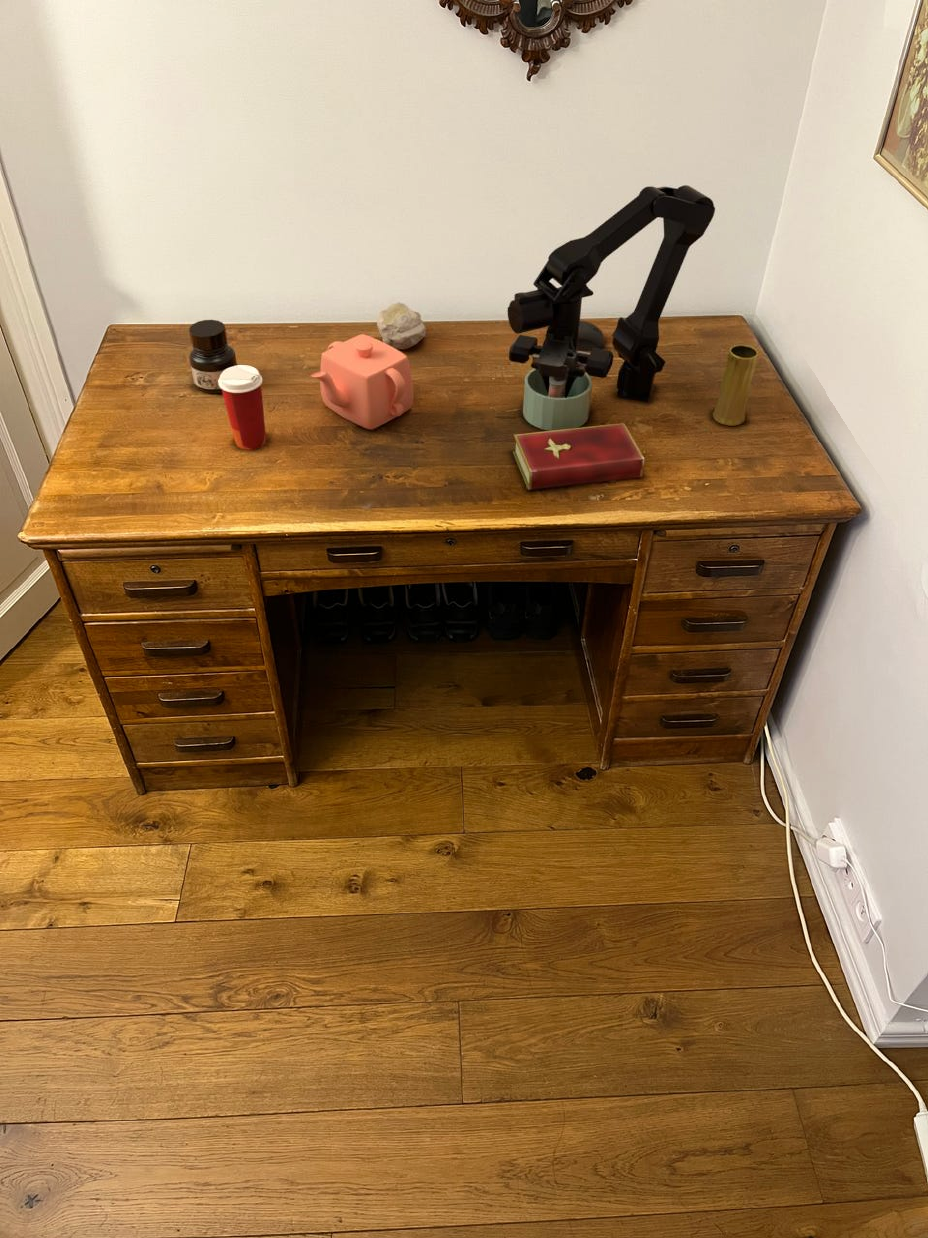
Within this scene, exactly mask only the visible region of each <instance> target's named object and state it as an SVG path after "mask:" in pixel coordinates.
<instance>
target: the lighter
mask: <svg viewBox="0 0 928 1238" xmlns="http://www.w3.org/2000/svg"><path fill="white" fill-rule="evenodd" d="M567 379H568V373H565V374H564V376H563V377H562V378H555V377H553V376H550V379H549V382H550V386H549V393H548V397H554V398H564V393H565V388H566V384H567Z"/></svg>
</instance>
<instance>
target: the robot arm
mask: <svg viewBox="0 0 928 1238" xmlns="http://www.w3.org/2000/svg"><path fill="white" fill-rule="evenodd" d="M715 213H716V207H715V204H714V201H713V200H712V199H711V198H710V197H708V196H707V195H706V194H703V193H701V192H700V191H698V190H697V189H695V188H694V187H692V186H690V185H686V184H685V185H681V186H679V187H677V188H675V187H671V186H659V187H655V186H653V185H649V186H645V187H643V188H642V189H641V190H640V192H639V194H638V195H637V196H636V197H635V198H634V199H632V200H631V201H629V202H628V203H627V204H626V205H624V207H622V208H621V209H619V210H618V211H617V212H616V213H614V214H613V215H612V216H610V217H609V218H608V219H606V221H604V222H603V223H602V224H600V225H599V226H598V227H596V228H595V229H594V230H593V231H592V232H590V233H589V234H587V235H586V236H583V237H580V238H575V239H571V240H569V241H567V242H565V243H564V244H562V245H560V246H558V247H557V248H555V249H553V251H551V253H550V254H549V256H548V258H547V259H548V260H547V262H546V263H545V265H544V266H543V268H542V269H541V271H540V272H539V274H538V275H537V277H536V279H534V281H533V283H532V284H533V286H534V287H535V288H536V289H535V290H529V291H526V292H523V291H521V292H517V293H515V294H514V295H513V300H511V301H510V302H509V304H508V307H507V319H508V323H509V326H510V328H511V330H512V331H513V332H514V333H515V334H517V335H518V336H517V337H516V338H515V339H514V341H513V343H512V344H511V345H510V347H509V351H508V352H509V353H508V360H509V361H510V362H514V363H517V364H526V363H527V362H528V361H529V360H530V356H531V358H532V362H531V364H530V367H531V368H532V369H536V370H538V371H539V374H540V375H541V376H542V378H543V381H544V384H545V387H546V391H547V394H548V393H549V386H550V382H549V379H550V376H553V377H555V378H562V377H563V376H564V374H565V373H568V379H567V384H566V388H565V396H564V398H567V396H568V394H569V392H570V390H571V388H572V386H573V383H574V381H575V380H576V378H577V377H583V376H584V375H585V373H587V374H588V375H589V376H590V377H595V378H600V379H605V378H607V377H608V374H609V372H610V370H611V368H612V366H613V364H614V354H613V352H612V350H608V349H603V348H602V349H597V348H593V349H592V350H590V352H587V351H584V350H577V347H578V335H579V326H580V321H581V312H582V303H583V299H584V298H587V297H592V296H593V295H594V290H592V289H590V288H589V286H588V285H587V284H588V283H590V282H591V280H592V279H593V278H594V277H596V275H597V273H598V272H599V270H600V268H601V265H602V263H603V262H604V260H606V259H607V258H608V257H610V255H611V254H614V252H615V251H616V250H618V249H619V248H620V247H622V246H623V245H625V244H626V243H627V242H628V241H630V240H631V239H632V238H633V237H634V236H636V235H637V234H638V233H640V232H641V231H642V230H643V229H645V228H646V227H648V226H649V225H650V224H651V223H653V222H654V221H655V220H656V219H657V218H661V219H662V220H663V221H662V222H663V238H662V240H661V243H660V246H659V248H658V250H657V253H656V256H655V258H654V261H653V263H652V266H651V268H650V271H649V273H648V275H647V279H646V281H645V283H644V286H643V288H642V290H641V293H640V296H639V298H638V301H637V303H636V306H635V308H634V310H633V312H632V313H630V314H629V315H627V317H626V318H625V317H622V316H621V317H619V319H618V320H617V323H616V327H615V329H614V331H613V333H612V334H611V338H612V342H611V343H612V344H611V345H612V347H613V349H614V351H615V352H616V353H617V356H618V358H620V359H622V360H623V362H622V364H621V365H620V367H619V369H618V374H617V381H616V389H617V392H616V397H619V398H624V399H630V400H634V401H640V402H644V403H648V402H650V399H651V397H652V394H653V392H654V389H655V386H656V385H655V377H656V374H657V373H661V372H662V371H663V368H664V366H665V365H666V360H665V359H664V358H662V356H660V355H659V354H658V353H657V348H658V344H659V341H660V328H659V321H660V319H661V316H662V313H663V311H664V309H665V306H666V304H667V301H668V299H669V297H670V294H671V292H672V290H673V287H674V285H675V283H676V280H677V278H678V275H679V273H680V271H681V268H682V266H683V263H684V262H685V261H684V260H685V259H686V256H687V254H688V251H689V249H690V248H691V246H692V245H694V244H695V243H696V242H697V241H698V240H699V239H700V238H702V237H703V236H704V234H705V232H706V231H707V229H708V228H709V225H710V223H712V220H713V218H714V216H715ZM552 279H553V280H554V281H555V282H556V283H557V284H559V285H560V286H559V287H557V286H556V285H554V284H553V283H552V282H551V280H552ZM544 328H547V329H546V334H545V337H544V338H545V339H544V341H543V342H542V345H539V344H538V343H539V342H538V340H539V339H538V337H535V336H529V335H524V334H523V333H527V332H531V331H536V330H540V329H544Z"/></svg>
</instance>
